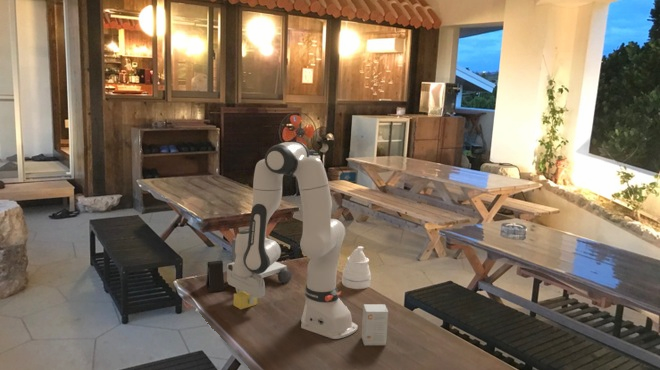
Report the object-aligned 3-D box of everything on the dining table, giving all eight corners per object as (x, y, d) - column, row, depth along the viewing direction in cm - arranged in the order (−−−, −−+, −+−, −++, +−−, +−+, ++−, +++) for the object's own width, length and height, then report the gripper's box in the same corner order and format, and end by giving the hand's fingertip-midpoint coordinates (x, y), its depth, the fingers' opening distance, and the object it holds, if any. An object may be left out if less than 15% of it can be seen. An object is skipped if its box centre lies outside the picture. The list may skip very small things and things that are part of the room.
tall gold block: (257, 304, 219) (257, 292, 218) (240, 309, 214) (241, 297, 213) (249, 300, 223) (250, 288, 222) (233, 305, 217) (233, 293, 216)
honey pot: (375, 287, 243) (378, 249, 240) (350, 290, 238) (352, 251, 234) (361, 276, 255) (364, 240, 251) (337, 280, 249) (339, 242, 246)
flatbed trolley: (264, 270, 257) (265, 228, 252) (291, 281, 245) (292, 237, 240) (226, 281, 241) (227, 237, 236) (253, 294, 229) (254, 247, 224)
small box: (382, 337, 197) (385, 303, 195) (386, 345, 191) (388, 311, 189) (360, 337, 197) (363, 303, 194) (363, 345, 190) (366, 311, 188)
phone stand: (224, 291, 231) (224, 264, 228) (210, 292, 228) (210, 265, 226) (219, 283, 239) (219, 257, 236) (205, 284, 236) (205, 258, 234)
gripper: (269, 274, 211) (268, 307, 213) (236, 260, 224) (236, 291, 227) (256, 278, 206) (256, 311, 209) (224, 263, 219) (224, 295, 222)
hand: (245, 301), depth 218 cm, fingers closed on tall gold block, 5 cm apart
